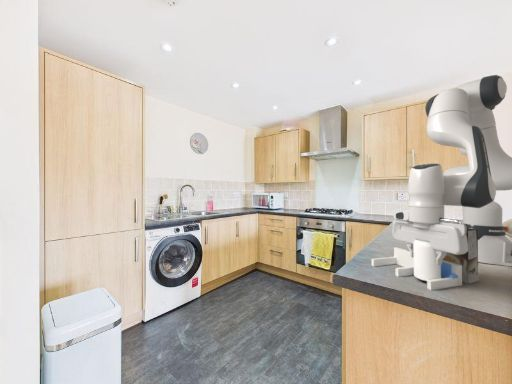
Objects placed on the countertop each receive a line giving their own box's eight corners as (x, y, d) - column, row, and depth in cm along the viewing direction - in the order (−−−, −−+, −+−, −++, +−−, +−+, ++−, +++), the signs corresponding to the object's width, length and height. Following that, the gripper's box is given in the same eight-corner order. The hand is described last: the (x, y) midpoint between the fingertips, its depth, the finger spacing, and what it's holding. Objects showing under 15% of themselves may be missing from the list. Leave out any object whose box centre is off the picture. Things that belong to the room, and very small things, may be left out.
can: (446, 283, 62) (445, 242, 62) (421, 282, 63) (420, 241, 63) (432, 275, 68) (431, 237, 68) (409, 274, 69) (409, 236, 69)
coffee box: (479, 280, 66) (479, 229, 66) (468, 284, 64) (469, 230, 64) (444, 270, 74) (444, 224, 74) (433, 273, 72) (433, 225, 72)
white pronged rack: (397, 262, 83) (397, 247, 83) (461, 285, 62) (462, 265, 62) (371, 265, 79) (371, 249, 79) (430, 290, 59) (430, 269, 59)
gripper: (474, 220, 57) (474, 272, 57) (403, 212, 76) (403, 251, 76) (457, 221, 55) (457, 274, 55) (389, 213, 75) (388, 252, 75)
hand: (425, 260), depth 66 cm, fingers closed on can, 5 cm apart
